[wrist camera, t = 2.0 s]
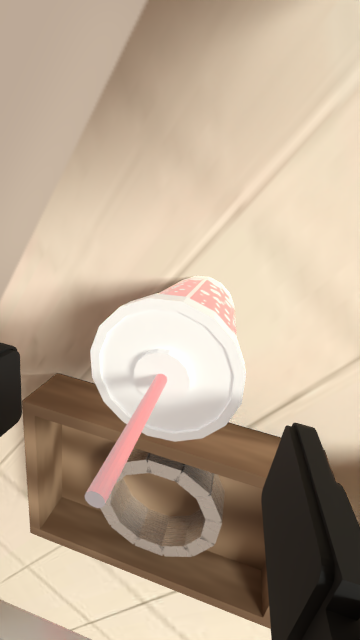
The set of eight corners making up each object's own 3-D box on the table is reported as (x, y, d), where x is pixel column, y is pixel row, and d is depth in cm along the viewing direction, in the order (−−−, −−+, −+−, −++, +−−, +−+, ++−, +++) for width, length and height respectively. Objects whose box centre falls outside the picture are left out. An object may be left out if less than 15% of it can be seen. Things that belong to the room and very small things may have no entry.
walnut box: (57, 373, 23) (22, 401, 20) (324, 450, 20) (342, 501, 16) (58, 493, 29) (30, 532, 25) (268, 570, 25) (272, 629, 22)
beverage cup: (149, 334, 20) (-24, 530, 7) (167, 252, 18) (-39, 323, 5) (229, 361, 19) (196, 633, 6) (259, 279, 17) (301, 447, 4)
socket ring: (115, 422, 23) (100, 444, 20) (235, 459, 21) (233, 487, 19) (108, 503, 26) (94, 530, 24) (209, 540, 25) (205, 572, 22)
